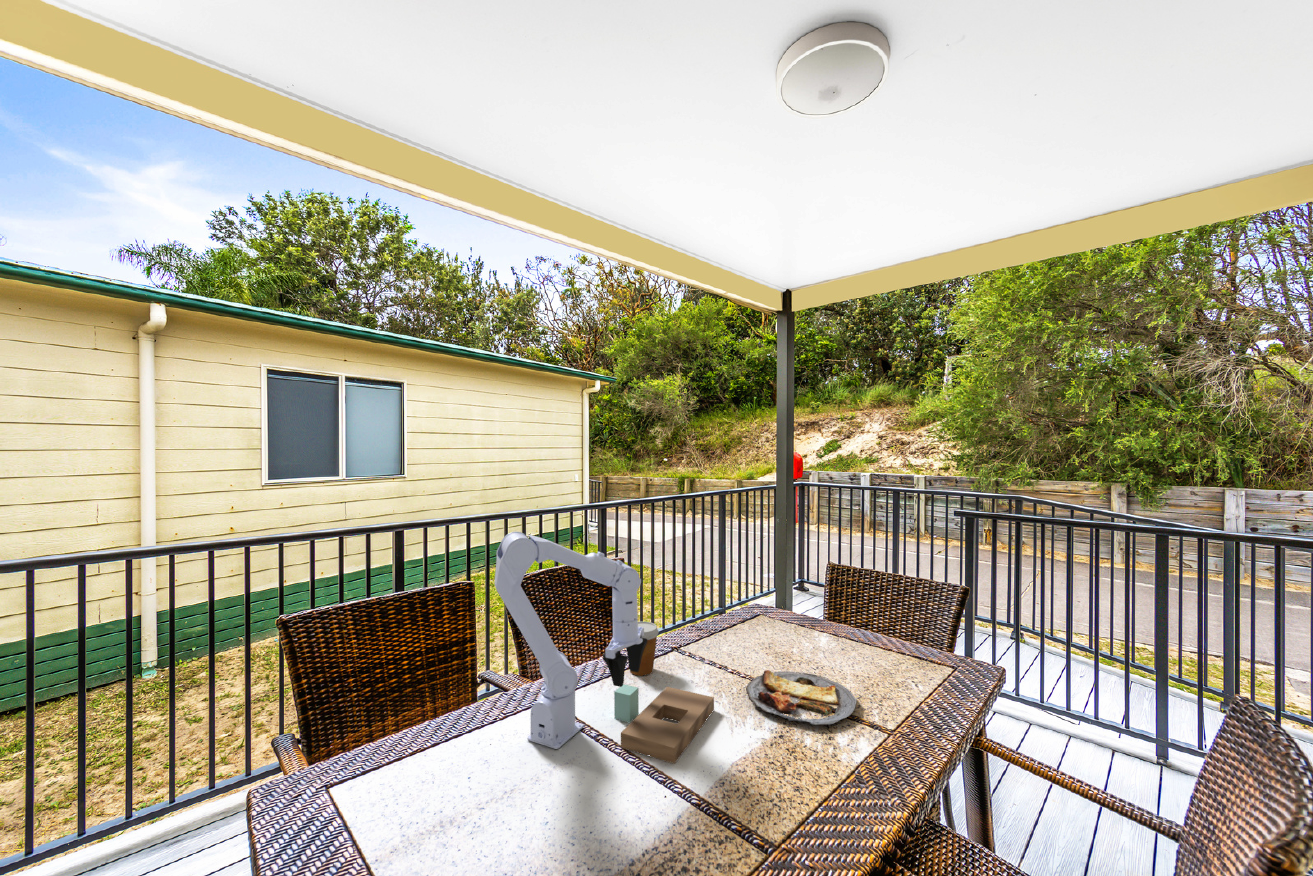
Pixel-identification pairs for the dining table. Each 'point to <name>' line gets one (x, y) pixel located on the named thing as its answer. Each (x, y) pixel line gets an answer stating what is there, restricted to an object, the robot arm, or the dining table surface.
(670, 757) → the well board
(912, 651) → the dining table surface
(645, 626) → the disposable coffee cup
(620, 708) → the teal block
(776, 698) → the food plate
